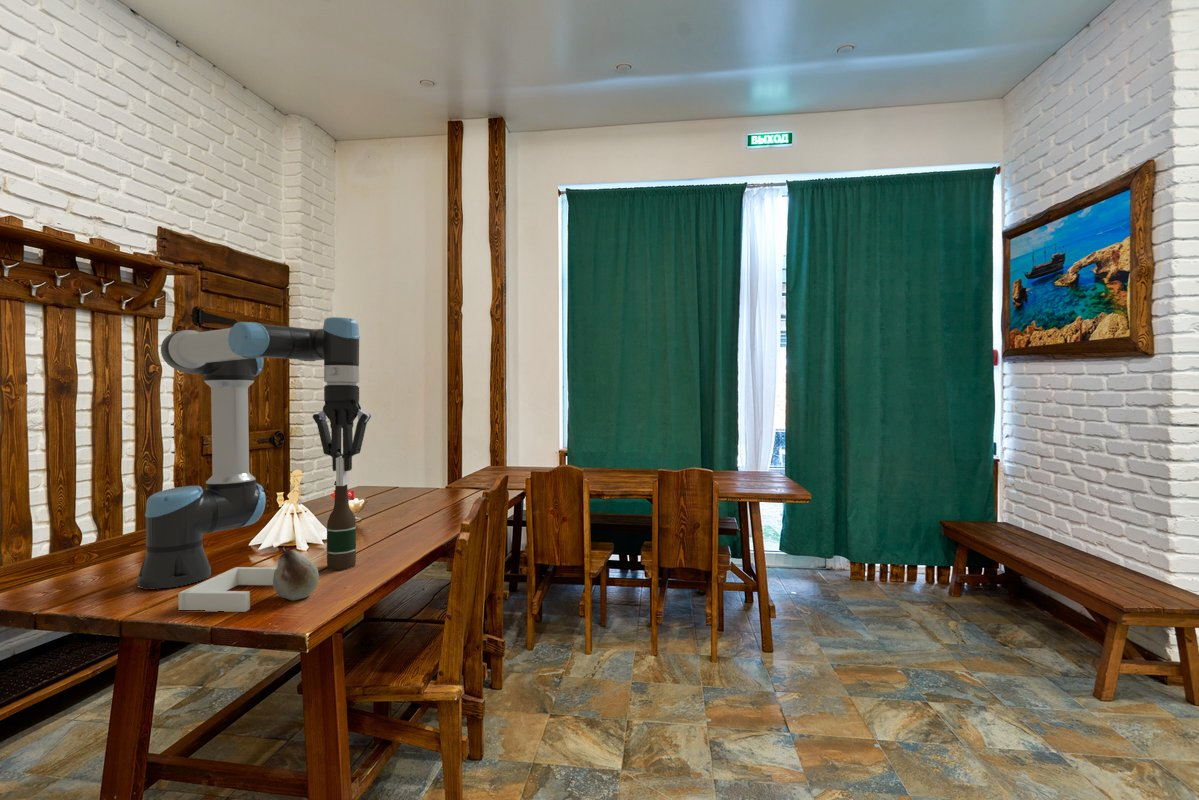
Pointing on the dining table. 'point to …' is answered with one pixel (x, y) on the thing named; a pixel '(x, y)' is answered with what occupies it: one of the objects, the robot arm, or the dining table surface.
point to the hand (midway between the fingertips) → (342, 484)
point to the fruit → (295, 576)
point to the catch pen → (225, 590)
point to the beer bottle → (341, 533)
